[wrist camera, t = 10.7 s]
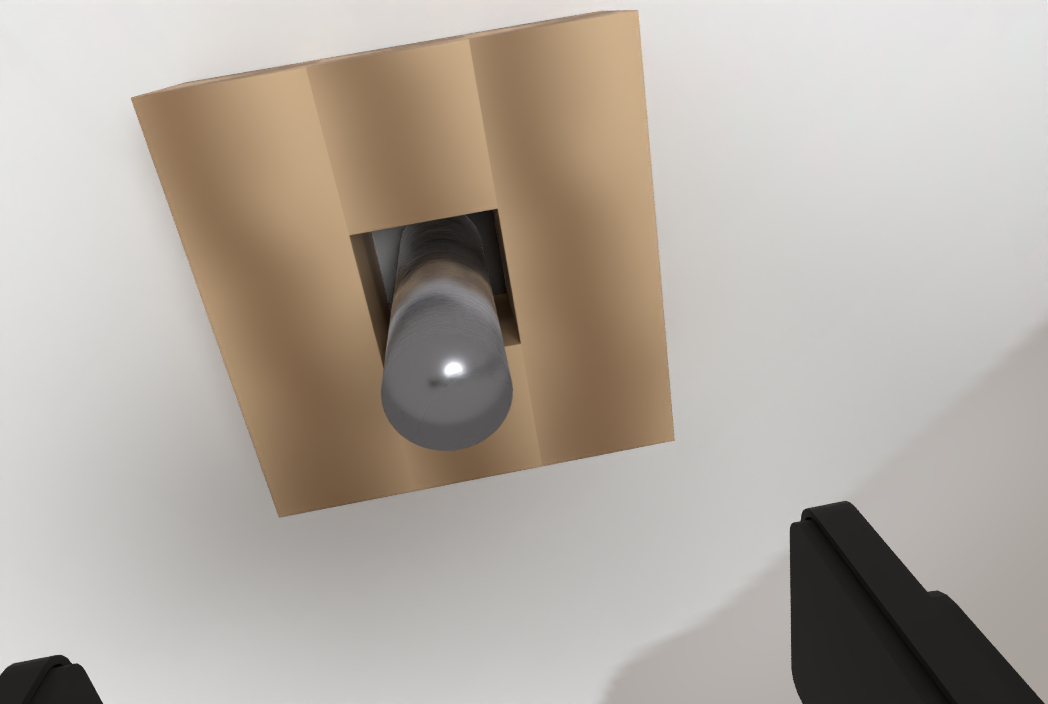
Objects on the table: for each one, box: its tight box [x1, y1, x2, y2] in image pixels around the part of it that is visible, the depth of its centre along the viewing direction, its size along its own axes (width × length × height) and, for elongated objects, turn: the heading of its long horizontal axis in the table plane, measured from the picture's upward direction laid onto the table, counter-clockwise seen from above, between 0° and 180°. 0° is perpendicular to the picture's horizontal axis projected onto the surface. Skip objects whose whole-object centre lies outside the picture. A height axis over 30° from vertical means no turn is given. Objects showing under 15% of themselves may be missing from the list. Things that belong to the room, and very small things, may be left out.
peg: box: [381, 215, 513, 451], centre depth 23 cm, size 3×3×12 cm
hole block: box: [131, 10, 675, 517], centre depth 26 cm, size 14×14×5 cm
